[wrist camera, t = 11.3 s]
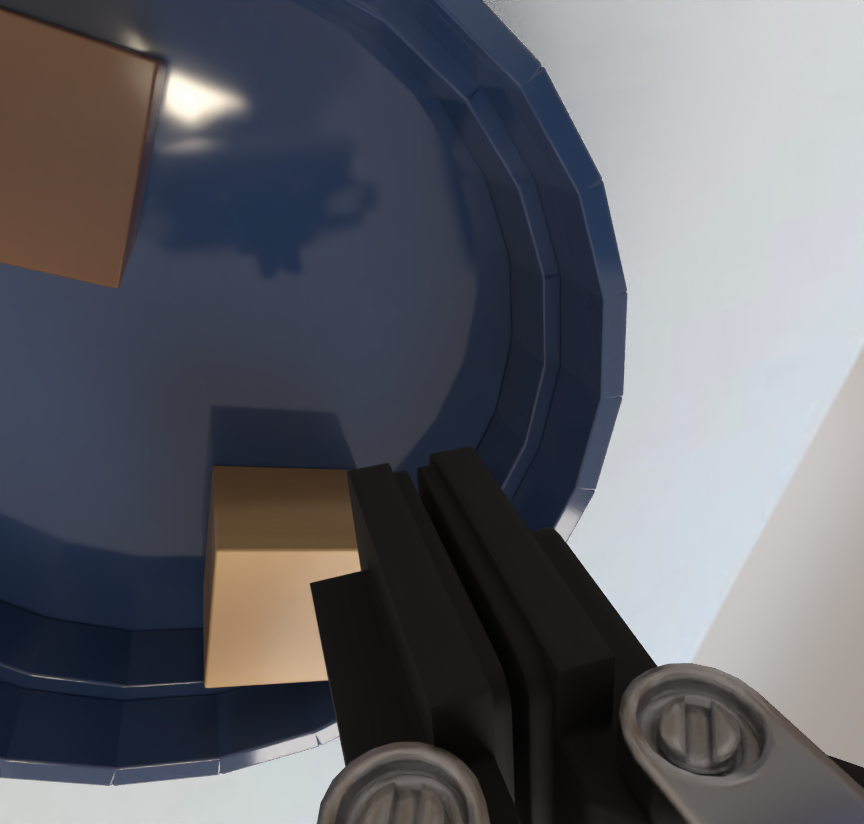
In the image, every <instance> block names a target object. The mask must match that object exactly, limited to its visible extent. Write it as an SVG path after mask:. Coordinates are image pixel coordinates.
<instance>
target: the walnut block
mask: <svg viewBox="0 0 864 824" xmlns="http://www.w3.org/2000/svg"><path fill="white" fill-rule="evenodd" d="M166 66H167V63H166V61H165V60H162V59H159V58H156V57H153V56H150V55H147V54H144V53H141V52H138V51H135V50H132V49H129V48H126V47H123V46H120V45H117V44H114V43H111V42H108V41H105V40H102V39H99V38H96V37H93V36H90V35H87V34H84V33H82V32H79V31H76V30H73V29H70V28H67V27H64V26H61V25H58V24H55V23H52V22H49V21H46V20H43V19H40V18H37V17H34V16H31V15H28V14H25V13H22V12H19V11H16V10H13V9H10V8H7V7H4V6H1V5H0V263H2V264H7V265H12V266H16V267H21V268H25V269H30V270H34V271H39V272H43V273H48V274H52V275H57V276H61V277H66V278H70V279H75V280H79V281H84V282H88V283H93V284H97V285H102V286H106V287H111V288H115V289H116V288H119V286H120V283H121V280H122V278H123V275H124V272H125V269H126V266H127V263H128V260H129V257H130V255H131V252H132V249H133V246H134V243H135V239H136V233H137V228H138V222H139V217H140V211H141V205H142V200H143V194H144V189H145V183H146V178H147V172H148V167H149V161H150V155H151V150H152V144H153V139H154V133H155V128H156V122H157V117H158V111H159V105H160V100H161V94H162V89H163V83H164V78H165V72H166Z"/></svg>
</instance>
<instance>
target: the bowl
mask: <svg viewBox="0 0 864 824" xmlns="http://www.w3.org/2000/svg"><path fill="white" fill-rule="evenodd" d="M0 5H1V6H4V7H7V8H10V9H13V10H16V11H19V12H22V13H25V14H28V15H31V16H34V17H37V18H40V19H43V20H46V21H49V22H52V23H55V24H58V25H61V26H64V27H67V28H70V29H73V30H76V31H79V32H82V33H84V34H87V35H90V36H93V37H96V38H99V39H102V40H105V41H108V42H111V43H114V44H117V45H120V46H123V47H126V48H129V49H132V50H135V51H138V52H141V53H144V54H147V55H150V56H153V57H156V58H159V59H162V60H165V61H166V63H167V66H166V72H165V78H164V83H163V89H162V94H161V100H160V105H159V111H158V117H157V122H156V128H155V133H154V139H153V144H152V150H151V155H150V161H149V167H148V172H147V178H146V183H145V189H144V194H143V200H142V205H141V211H140V217H139V222H138V228H137V233H136V239H135V243H134V246H133V249H132V252H131V255H130V257H129V260H128V263H127V266H126V269H125V272H124V275H123V278H122V280H121V283H120V286H119V288H116V289H115V288H111V287H106V286H102V285H97V284H93V283H88V282H84V281H79V280H75V279H70V278H66V277H61V276H57V275H52V274H48V273H43V272H39V271H34V270H30V269H25V268H21V267H16V266H12V265H7V264H2V263H0V778H10V779H23V780H37V781H50V782H64V783H78V784H91V785H105V786H110V785H112V784H113V785H114V786H117V785H126V784H136V783H145V782H155V781H164V780H174V779H184V778H193V777H203V776H212V775H219V774H220V772H221V773H222V774H225V773H228V772H232V771H235V770H239V769H242V768H246V767H249V766H253V765H256V764H259V763H263V762H266V761H270V760H273V759H277V758H280V757H284V756H287V755H291V754H294V753H298V752H301V751H305V750H308V749H312V748H315V747H318V746H319V744H320V745H323V744H325V743H327V742H329V741H331V740H333V739H335V738H337V737H339V731H338V726H337V721H336V716H335V711H334V706H333V701H332V696H331V691H330V686H329V681H312V682H296V683H280V684H265V685H249V686H233V687H217V688H205V686H204V635H203V581H204V569H205V556H206V543H207V530H208V517H209V505H210V492H211V479H212V468H213V466H241V467H275V468H309V469H343V470H355V469H360V468H364V467H369V466H374V465H379V464H384V463H389V465H390V466H391V468H392V471H393V473H394V472H399V471H404V470H406V471H407V472H408V474H409V476H410V478H411V480H412V482H413V484H414V486H415V488H416V490H417V492H418V483H417V469H418V467H423V466H427V465H429V458H430V455H431V454H432V453H437V452H442V451H447V450H452V449H456V448H461V447H466V446H472V447H473V448H474V449H475V451H476V452H477V454H478V455H479V457H480V458H481V459H482V461H483V462H484V464H485V465H486V467H487V468H488V470H489V471H490V473H491V474H492V476H493V477H494V479H495V480H496V481H497V483H498V484H499V486H500V487H501V489H502V490H503V492H504V493H505V495H506V496H507V498H508V499H509V501H510V502H511V503H512V505H513V506H514V508H515V509H516V511H517V512H518V514H519V515H520V517H521V518H522V520H523V521H524V523H525V524H526V526H527V527H528V528H529V530H530V531H533V530H537V529H541V528H546V527H551V528H554V529H555V530H556V531H557V532H558V533H559V534H560V535H561V536H562V538H563V539H564V541H565V542H567V540H568V539H569V537H570V535H571V533H572V531H573V530H574V528H575V526H576V524H577V523H578V521H579V519H580V517H581V516H582V514H583V512H584V510H585V508H586V507H587V505H588V503H589V501H590V500H591V498H592V496H593V494H594V492H595V491H594V490H595V489H596V486H597V483H598V479H599V476H600V472H601V469H602V465H603V462H604V459H605V455H606V452H607V448H608V445H609V442H610V438H611V435H612V431H613V428H614V425H615V421H616V418H617V414H618V411H619V408H620V404H621V401H622V397H621V396H623V385H624V361H625V336H626V312H627V292H626V291H627V288H626V283H625V279H624V274H623V270H622V265H621V261H620V256H619V251H618V247H617V242H616V238H615V233H614V229H613V224H612V219H611V215H610V210H609V206H608V201H607V197H606V192H605V188H604V183H603V181H602V177H601V175H600V173H599V171H598V169H597V168H596V166H595V164H594V162H593V160H592V158H591V156H590V154H589V152H588V150H587V148H586V146H585V144H584V143H583V141H582V139H581V137H580V135H579V133H578V131H577V129H576V127H575V125H574V123H573V121H572V120H571V118H570V116H569V114H568V112H567V110H566V108H565V106H564V104H563V102H562V100H561V98H560V96H559V95H558V93H557V91H556V89H555V87H554V85H553V83H552V81H551V79H550V77H549V75H548V73H547V72H546V70H545V68H544V67H541V66H542V65H541V63H540V62H539V61H538V60H537V58H536V57H535V56H534V55H533V54H532V53H531V52H530V51H529V50H528V49H527V48H526V47H525V46H524V44H523V43H522V42H521V41H520V40H519V39H518V38H517V37H516V36H515V35H514V34H513V33H512V32H511V30H510V29H509V28H508V27H507V26H506V25H505V24H504V23H503V22H502V21H501V20H500V19H499V18H498V16H497V15H496V14H495V13H494V12H493V11H492V10H491V9H490V8H489V7H488V6H487V5H486V4H485V2H484V1H483V0H0ZM418 494H419V493H418Z"/></svg>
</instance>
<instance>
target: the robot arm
mask: <svg viewBox="0 0 864 824" xmlns="http://www.w3.org/2000/svg"><path fill="white" fill-rule="evenodd" d="M347 480H348V487H349V494H350V501H351V508H352V514H353V521H354V528H355V534H356V541H357V548H358V555H359V561H360V568H361V571H359V572H355V573H350V574H346V575H342V576H338V577H333V578H329V579H325V580H321V581H316V582H312V583H310V588H311V593H312V599H313V604H314V609H315V614H316V620H317V625H318V630H319V635H320V640H321V645H322V651H323V656H324V661H325V666H326V671H327V676H328V681H329V686H330V691H331V696H332V701H333V706H334V711H335V716H336V721H337V726H338V731H339V736H340V741H341V746H342V751H343V756H344V761H345V766H346V767H345V768H344V769H343V770H342V771H341V772H340V773H339V774H338V775H337V776H336V777H335V778H334V779H333V780H332V782H331V784H330V786H329V788H328V790H327V792H326V794H325V796H324V798H323V800H322V801H321V804H320V810H319V815H318V821H317V824H864V768H863V767H860V766H857V765H854V764H852V763H849V762H846V761H843V760H840V759H837V758H834V757H831V756H828V755H826V754H825V753H824V752H823V751H822V750H820V748H818V747H817V746H816V745H815V744H814V743H813V742H812V741H811V740H810V739H808V738H807V737H806V736H805V735H804V734H803V733H802V732H801V731H800V730H799V729H798V728H797V727H795V726H794V725H793V724H792V723H791V722H790V721H789V720H788V719H787V718H786V717H784V716H783V715H782V714H781V713H780V712H779V711H778V710H777V709H776V708H775V707H773V706H772V705H771V704H770V703H769V702H768V701H767V700H766V699H765V698H764V697H763V696H761V695H760V694H759V693H758V692H757V691H755V690H754V689H752V688H751V687H749V686H748V685H747V684H746V683H744V682H743V681H741V680H740V679H739V678H736V677H734V676H732V675H730V674H727V673H725V672H723V671H720V670H718V669H716V668H712V667H707V666H702V665H697V664H692V663H681V664H666V665H662V666H659V667H657V665H656V664H655V663H654V661H653V660H652V658H651V657H650V656H649V654H648V653H647V652H646V650H645V649H644V648H643V646H642V645H641V644H640V642H639V641H638V640H637V638H636V637H635V635H634V634H633V633H632V631H631V630H630V629H629V627H628V626H627V625H626V623H625V622H624V621H623V619H622V618H621V616H620V615H619V614H618V612H617V611H616V610H615V608H614V607H613V606H612V604H611V603H610V602H609V600H608V599H607V597H606V596H605V595H604V593H603V592H602V591H601V589H600V588H599V587H598V585H597V584H596V583H595V581H594V580H593V579H592V577H591V576H590V574H589V573H588V572H587V570H586V569H585V568H584V566H583V565H582V564H581V562H580V561H579V560H578V558H577V557H576V555H575V554H574V553H573V551H572V550H571V549H570V547H569V546H568V545H567V543H566V542H565V541H564V539H563V538H562V536H561V535H560V534H559V533H558V532H557V531H556V530H555V529H554V528H551V527H546V528H541V529H537V530H533V531H530V530H529V528H528V527H527V526H526V524H525V523H524V521H523V520H522V518H521V517H520V515H519V514H518V512H517V511H516V509H515V508H514V506H513V505H512V503H511V502H510V501H509V499H508V498H507V496H506V495H505V493H504V492H503V490H502V489H501V487H500V486H499V484H498V483H497V481H496V480H495V479H494V477H493V476H492V474H491V473H490V471H489V470H488V468H487V467H486V465H485V464H484V462H483V461H482V459H481V458H480V457H479V455H478V454H477V452H476V451H475V449H474V448H473V447H472V446H466V447H461V448H456V449H452V450H447V451H442V452H437V453H432V454H431V455H430V458H429V465H427V466H423V467H418V469H417V483H418V492H417V490H416V488H415V486H414V484H413V482H412V480H411V478H410V476H409V474H408V472H407V471H406V470H404V471H399V472H394V473H393V471H392V468H391V466H390V465H389V463H384V464H379V465H374V466H369V467H364V468H360V469H355V470H350V471H347ZM418 493H419V494H418Z"/></svg>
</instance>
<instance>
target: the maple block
mask: <svg viewBox="0 0 864 824" xmlns="http://www.w3.org/2000/svg"><path fill="white" fill-rule="evenodd" d="M347 471H350V470H343V469H309V468H275V467H241V466H213V468H212V479H211V492H210V505H209V517H208V530H207V543H206V556H205V569H204V581H203V635H204V686H205V688H217V687H233V686H249V685H265V684H280V683H296V682H312V681H328V676H327V671H326V666H325V661H324V656H323V651H322V645H321V640H320V635H319V630H318V625H317V620H316V614H315V609H314V604H313V599H312V593H311V588H310V583H312V582H316V581H321V580H325V579H329V578H333V577H338V576H342V575H346V574H350V573H355V572H359V571H361V568H360V561H359V555H358V548H357V541H356V534H355V528H354V521H353V514H352V508H351V501H350V494H349V487H348V480H347Z"/></svg>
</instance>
